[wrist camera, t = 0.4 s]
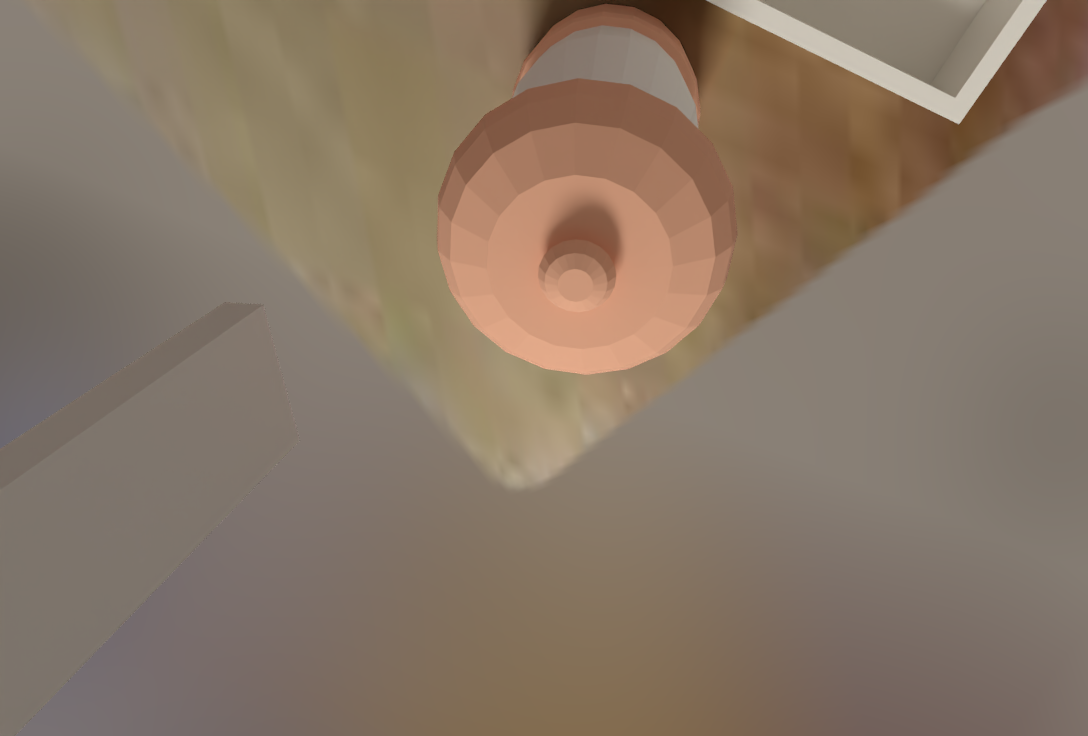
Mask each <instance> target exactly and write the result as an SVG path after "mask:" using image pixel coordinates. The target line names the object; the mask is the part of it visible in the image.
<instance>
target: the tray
mask: <svg viewBox="0 0 1088 736" xmlns="http://www.w3.org/2000/svg"><path fill="white" fill-rule="evenodd" d="M706 1H708V2H710V3H712V4H714V5H716V6H718V7H720V8H722V9H724V10H727V11H729V12H731V13H733V14H735V15H737V16H739V17H741V18H743V19H745V20H747V21H749V22H751V23H753V24H755V25H757V26H759V27H761V28H763V29H765V30H767V31H769V32H771V33H774V34H776V35H778V36H780V37H782V38H784V39H786V40H788V41H790V42H792V43H794V44H796V45H798V46H800V47H802V48H804V49H806V50H808V51H810V52H812V53H814V54H816V55H818V56H820V57H823V58H825V59H827V60H829V61H831V62H833V63H835V64H837V65H839V66H841V67H843V68H845V69H847V70H849V71H851V72H853V73H855V74H857V75H859V76H861V77H863V78H865V79H867V80H870V81H872V82H874V83H876V84H878V85H880V86H882V87H884V88H886V89H888V90H890V91H892V92H894V93H896V94H898V95H900V96H902V97H904V98H906V99H908V100H910V101H912V102H914V103H916V104H919V105H921V106H923V107H925V108H927V109H929V110H931V111H933V112H935V113H937V114H939V115H941V116H943V117H945V118H947V119H949V120H951V121H953V122H955V123H957V124H959V123H960V122H961V121H962V119H963V118H964V116H965V115H966V114H967V112H968V111H969V109H970V108H971V107H972V105H973V104H974V102H975V101H976V99H977V98H978V97H979V95H980V94H981V92H982V91H983V90H984V88H985V87H986V85H987V84H988V82H989V81H990V80H991V78H992V77H993V75H994V74H995V73H996V71H997V70H998V68H999V67H1000V66H1001V64H1002V63H1003V61H1004V60H1005V58H1006V57H1007V56H1008V54H1009V53H1010V51H1011V50H1012V49H1013V47H1014V46H1015V44H1016V43H1017V41H1018V40H1019V39H1020V37H1021V36H1022V34H1023V33H1024V32H1025V30H1026V29H1027V27H1028V26H1029V25H1030V23H1031V22H1032V20H1033V19H1034V17H1035V16H1036V15H1037V13H1038V12H1039V10H1040V9H1041V8H1042V6H1043V5H1044V3H1045V2H1046V0H706Z"/></svg>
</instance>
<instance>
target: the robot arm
mask: <svg viewBox="0 0 1088 736" xmlns="http://www.w3.org/2000/svg"><path fill="white" fill-rule="evenodd" d="M299 441H300V438H299V435H298V431H297V427H296V423H295V420H294V416H293V413H292V409H291V405H290V401H289V398H288V394H287V390H286V387H285V383H284V379H283V376H282V372H281V369H280V365H279V361H278V357H277V354H276V350H275V346H274V343H273V339H272V335H271V332H270V328H269V324H268V321H267V317H266V313H265V310H264V306H263V305H260V304H243V303H226V302H225V303H223V304H221V305H220V306H218V307H217V308H215V309H214V310H212V311H211V312H209V313H208V314H206V315H205V316H203V317H201V318H200V319H199V320H197V321H195V322H194V323H192V324H191V325H189V326H188V327H186V328H185V329H183V330H182V331H180V332H178V333H177V334H176V335H174V336H173V337H171V338H169V339H168V340H166V341H165V342H163V343H162V344H160V345H159V346H157V347H156V348H154V349H153V350H151V351H149V352H148V353H146V354H145V355H143V356H142V357H140V358H139V359H137V360H136V361H134V362H133V363H131V364H129V365H128V366H126V367H125V368H123V369H122V370H120V371H119V372H117V373H116V374H114V375H113V376H111V377H110V378H108V379H106V380H105V381H103V382H102V383H100V384H99V385H97V386H96V387H94V388H93V389H91V390H90V391H88V392H87V393H85V394H84V395H82V396H81V397H79V398H77V399H76V400H74V401H73V402H71V403H70V404H68V405H67V406H65V407H64V408H62V409H61V410H59V411H57V412H56V413H54V414H53V415H51V416H50V417H48V418H47V419H45V420H44V421H42V422H41V423H39V424H37V425H36V426H34V427H33V428H31V429H30V430H28V431H27V432H25V433H24V434H22V435H21V436H19V437H18V438H16V439H14V440H13V441H11V442H10V443H8V444H7V445H5V446H4V447H2V448H1V449H0V736H15V735H16V734H17V733H18V732H19V731H20V730H21V729H22V728H23V727H24V726H25V725H26V724H27V723H28V722H29V721H30V720H31V719H32V717H34V716H35V714H36V713H37V712H38V711H39V710H40V709H41V708H42V707H43V706H44V705H45V704H46V703H47V702H48V701H49V700H50V699H51V698H52V697H53V696H54V695H55V694H56V693H57V692H58V691H59V690H60V689H61V688H62V686H63V685H64V684H65V683H66V682H67V681H68V680H69V679H70V678H71V677H72V676H73V675H74V674H75V673H76V672H77V671H78V670H79V669H80V668H81V667H82V666H83V665H84V664H85V663H86V662H87V661H88V660H89V659H90V657H91V656H92V655H93V654H94V653H95V652H96V651H97V650H98V649H99V648H100V647H101V646H102V645H103V644H104V643H105V642H106V641H107V640H108V639H109V638H110V637H111V636H112V635H113V634H114V633H115V632H116V631H117V629H119V628H120V626H121V625H122V624H123V623H124V622H125V621H126V620H127V619H128V618H129V617H130V616H131V615H132V614H133V613H134V612H135V611H136V610H137V609H138V608H139V607H140V606H141V605H142V604H143V603H144V602H145V601H146V600H147V599H148V598H149V596H150V595H151V594H152V593H153V592H154V591H155V590H156V589H157V588H158V587H159V586H160V585H161V584H162V583H163V582H164V581H165V580H166V579H167V578H168V576H170V575H171V574H172V572H174V570H176V569H177V567H178V566H179V565H180V564H181V563H182V562H183V561H184V560H185V559H186V558H187V557H188V556H189V555H190V554H191V553H192V552H193V551H194V550H195V549H196V548H197V547H198V546H199V545H200V544H201V543H202V541H204V539H205V538H206V537H207V536H208V535H209V534H210V533H211V532H212V531H213V530H214V529H215V528H216V527H217V526H218V525H219V524H220V523H221V522H222V521H223V520H224V519H225V518H226V517H227V516H228V515H229V514H230V513H231V511H232V510H233V509H234V508H235V507H236V506H237V505H238V504H239V503H240V502H241V501H242V500H243V499H244V498H245V497H246V496H247V495H248V494H249V493H250V492H251V491H252V490H253V489H254V487H256V486H257V485H258V484H259V483H260V482H261V480H262V479H263V478H264V477H265V476H266V475H267V474H268V473H269V472H270V471H271V470H272V469H273V468H274V467H275V466H276V465H277V464H278V463H279V462H280V461H281V460H282V459H283V458H284V457H285V456H286V455H287V454H288V452H289V451H290V450H291V449H292V448H293V447H294V446H295V445H296V444H297V443H298V442H299Z"/></svg>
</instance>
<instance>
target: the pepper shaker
mask: <svg viewBox="0 0 1088 736" xmlns="http://www.w3.org/2000/svg"><path fill="white" fill-rule="evenodd" d="M700 113H701V111H700V102H699V93H698V84H697V80H696V77H695V74H694V72H693V69H692V67H691V64H690V62H689V60H688V58H687V56H686V54H685V51H684V49H683V47H682V45H681V43H680V41H679V40H678V39H677V37H676V36H675V35H674V34H673V33H672V32H671V31H670V30H669V29H668V28H667V27H666V26H665V25H664V24H663V23H662V22H661V21H660V20H659V19H657V18H655V17H653V16H651V15H649V14H647V13H645V12H643V11H641V10H639V9H637V8H635V7H630V6H621V5H613V4H602V5H598V6H593V7H589V8H585V9H580V10H577V11H575V12H574V13H572V14H571V15H569V16H568V17H566V18H564V19H563V20H561V21H560V22H558V23H556V24H555V25H553V26H552V28H551V29H550V30H549V31H548V32H547V34H546V35H545V36H544V37H543V38H542V40H541V41H540V42H539V43H538V44H537V46H536V47H535V48H534V49H533V51H532V52H531V53H530V54H529V55H528V57H527V58H526V59H525V60H524V63H523V66H522V68H521V71H520V73H519V76H518V78H517V81H516V83H515V86H514V88H513V97H512V99H510V100H509V101H507V102H505V103H504V104H502V105H500V106H499V107H497V108H495V109H494V110H492V111H490V112H489V113H487V114H485V115H484V117H483V118H482V119H481V120H480V121H479V123H478V124H477V125H476V126H475V127H474V129H473V130H472V131H471V132H470V133H469V135H468V136H467V137H466V138H465V140H464V141H463V142H462V143H461V144H460V146H459V147H458V148H457V149H456V150H455V152H454V154H453V157H452V159H451V162H450V165H449V168H448V170H447V173H446V176H445V178H444V181H443V184H442V186H441V189H440V192H439V195H438V227H437V244H438V252H439V255H440V259H441V262H442V265H443V269H444V272H445V275H446V279H447V282H448V285H449V289H450V291H451V293H452V294H453V296H454V297H455V299H456V300H457V302H458V303H459V305H460V306H461V307H462V309H463V310H464V312H465V313H466V315H467V316H468V318H469V319H470V321H471V322H472V324H473V325H474V326H475V327H476V328H477V329H479V330H480V331H481V332H482V333H483V334H485V335H486V336H487V337H488V338H490V339H491V340H492V341H493V342H495V343H496V344H497V345H498V346H499V347H501V348H502V349H503V350H504V351H506V352H507V353H509V354H512V355H514V356H516V357H519V358H521V359H523V360H526V361H528V362H530V363H533V364H535V365H537V366H540V367H542V368H544V369H550V370H557V371H564V372H572V373H579V374H586V375H587V374H594V373H602V372H609V371H617V370H624V369H629V368H632V367H634V366H636V365H638V364H641V363H643V362H645V361H648V360H650V359H652V358H655V357H657V356H659V355H661V354H664V353H666V352H668V351H669V350H670V349H671V348H672V347H674V346H675V345H676V344H677V343H678V342H679V341H681V340H682V339H683V338H684V337H685V336H687V335H688V334H689V333H690V332H691V331H693V330H694V329H695V328H696V327H697V326H698V325H700V323H701V321H702V320H703V318H704V317H705V315H706V313H707V312H708V310H709V309H710V307H711V306H712V304H713V302H714V301H715V299H716V298H717V296H718V294H719V293H720V291H721V290H722V288H723V286H724V283H725V281H726V279H727V275H728V271H729V267H730V263H731V259H732V255H733V251H734V246H735V242H736V238H737V223H736V213H735V203H734V192H733V186H732V184H731V182H730V180H729V178H728V176H727V173H726V171H725V169H724V167H723V165H722V163H721V161H720V159H719V156H718V154H717V152H716V150H715V148H714V146H713V144H712V142H711V141H710V140H709V139H708V138H707V137H706V136H705V135H704V134H703V133H702V132H701V131H700V130H699V129H698V123H699V118H700Z"/></svg>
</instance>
